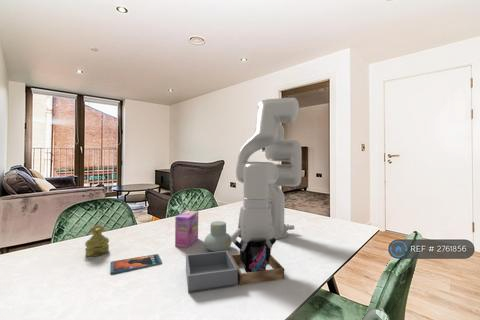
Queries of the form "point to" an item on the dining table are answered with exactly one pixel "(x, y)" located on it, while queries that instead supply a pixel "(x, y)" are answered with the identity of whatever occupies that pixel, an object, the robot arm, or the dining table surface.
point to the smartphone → (134, 263)
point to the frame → (259, 272)
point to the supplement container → (255, 256)
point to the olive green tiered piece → (97, 242)
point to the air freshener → (218, 237)
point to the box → (186, 228)
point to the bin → (210, 271)
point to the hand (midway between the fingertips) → (255, 260)
